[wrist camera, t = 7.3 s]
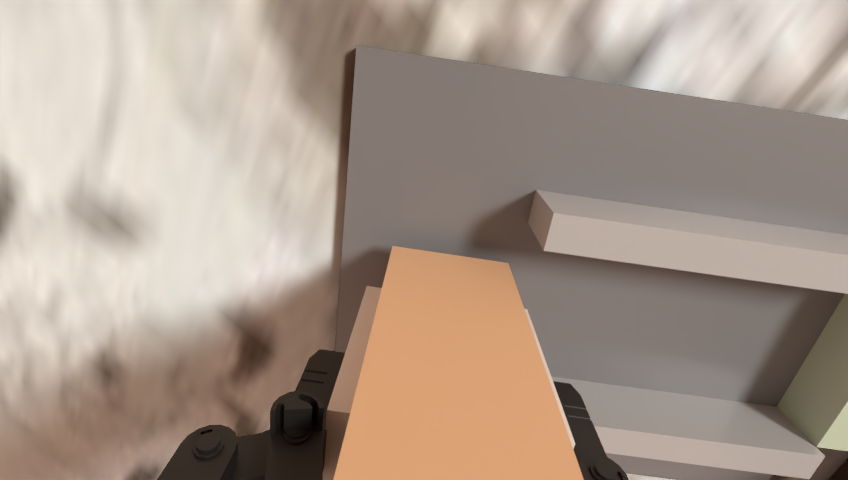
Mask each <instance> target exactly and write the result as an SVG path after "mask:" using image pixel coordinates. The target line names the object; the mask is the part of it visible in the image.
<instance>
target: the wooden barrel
mask: <svg viewBox="0 0 848 480" xmlns="http://www.w3.org/2000/svg"><path fill="white" fill-rule="evenodd" d="M828 480H848V459H847V460H846V461H845V462H844V463H843V464H842V465H841V466H840V468H839V469H838V470H837V471H836V472H835V473H834V474H833V475H832V476H831V477H830V478H829V479H828Z"/></svg>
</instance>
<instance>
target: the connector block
mask: <svg viewBox="0 0 848 480" xmlns="http://www.w3.org/2000/svg"><path fill="white" fill-rule="evenodd" d="M333 480H584V479H583V476H582V473H581V470H580V467H579V464H578V461H577V458H576V456H575V453H574V450H573V447H572V444H571V441H570V438H569V435H568V433H567V430H566V427H565V424H564V421H563V418H562V415H561V413H560V410H559V407H558V404H557V401H556V398H555V395H554V392H553V390H552V387H551V384H550V381H549V378H548V375H547V372H546V369H545V367H544V364H543V361H542V358H541V355H540V352H539V349H538V347H537V344H536V341H535V338H534V335H533V332H532V329H531V326H530V324H529V321H528V318H527V315H526V312H525V309H524V306H523V303H522V301H521V298H520V295H519V292H518V289H517V286H516V283H515V281H514V278H513V275H512V272H511V269H510V266H509V263H505V262H498V261H492V260H485V259H478V258H471V257H465V256H458V255H451V254H444V253H437V252H431V251H424V250H417V249H410V248H404V247H397V246H392V250H391V254H390V258H389V262H388V266H387V270H386V274H385V278H384V282H383V286H382V289H381V293H380V297H379V301H378V305H377V309H376V313H375V317H374V321H373V325H372V329H371V333H370V337H369V341H368V345H367V349H366V353H365V357H364V361H363V365H362V369H361V372H360V376H359V380H358V384H357V388H356V392H355V396H354V400H353V404H352V408H351V412H350V416H349V420H348V424H347V428H346V432H345V436H344V440H343V444H342V448H341V452H340V455H339V459H338V463H337V467H336V471H335V475H334V479H333Z"/></svg>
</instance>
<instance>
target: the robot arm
mask: <svg viewBox="0 0 848 480" xmlns="http://www.w3.org/2000/svg"><path fill="white" fill-rule="evenodd" d="M381 289H382V288H378V287H371V286H367V287H366V290H365V293H364V296H363V299H362V303H361V306H360V309H359V312H358V315H357V318H356V321H355V324H354V327H353V330H352V334H351V337H350V340H349V343H348V346H347V349H346V352H345V353H342V352H335V351H328V350H321V349H320V350H319V351H317V352H316V353H315V354H314V355H313V356H312V357H310V358H309V361H308V363H307V365H306V368H305V370H304V372H303V374H302V377H301V380H300V381H299V384H298V386H297V388H296V390H295V391H294V392H289V393H287V394H285V395H283V396H281V397H279V398H278V399H277V400H276V401H275V402H274V403H273V406H272V408H271V411H270V430H267V431H265V432H263V433H259V434H254V435H248V436H241V437H236V433H235V432H234V431H233V430H232V429H230V428H229V427H226V426H222V425H209V426H206V427H203V428H200V429H198V430H196V431H194V432H193V433H191V434H189V435H188V436H187V437H186V438H185V440H184V441H183V442H182V443H181V444H180V446H179V447H178V449H177V450H176V452H175V453H174V455H173V456H172V458H171V459H170V461H169V462H168V464H167V466H166V467H165V469H164V470H163V472H162V473H161V475H160V476H159V478H158V479H157V480H333V479H334V475H335V471H336V467H337V463H338V459H339V455H340V452H341V448H342V444H343V440H344V436H345V432H346V428H347V424H348V420H349V416H350V412H351V408H352V404H353V400H354V396H355V392H356V388H357V384H358V380H359V376H360V372H361V369H362V365H363V361H364V357H365V353H366V349H367V345H368V341H369V337H370V333H371V329H372V325H373V321H374V317H375V313H376V309H377V305H378V301H379V297H380V293H381ZM525 312H526V315H527V318H528V321H529V324H530V326H531V329H532V332H533V335H534V338H535V341H536V344H537V347H538V349H539V352H540V355H541V358H542V361H543V364H544V367H545V369H546V372H547V375H548V378H549V381H550V384H551V387H552V390H553V392H554V395H555V398H556V401H557V404H558V407H559V410H560V413H561V415H562V418H563V421H564V424H565V427H566V430H567V433H568V435H569V438H570V441H571V444H572V447H573V450H574V453H575V456H576V458H577V461H578V464H579V467H580V470H581V473H582V476H583V479H584V480H628V477H627V475H626V473H625V472H624V471H623V470H622V468H621V467H620V466H619V465H618V464H617V463H615V462H614V461H613V460H611V459H610V458H608V457H607V455H606V453H605V451H604V448H603V446H602V444H601V441H600V439H599V437H598V434H597V432H596V430H595V427H594V425H593V423H592V420H590V416H589V413H588V411H587V410H586V406H585V404H584V402H583V399H582V397H581V395H580V394H579V393H578V392H577V390H576V389H575V388H574V387H573V386H572V385H571V384H570V383H563V382H556V381H553V380H552V377H551V374H550V372H549V369H548V366H547V363H546V360H545V358H544V355H543V352H542V349H541V346H540V344H539V341H538V338H537V335H536V332H535V330H534V327H533V324H532V321H531V319H530V316H529V313H528V310H527V309H525Z"/></svg>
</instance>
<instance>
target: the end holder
mask: <svg viewBox="0 0 848 480" xmlns="http://www.w3.org/2000/svg"><path fill="white" fill-rule="evenodd" d="M392 246H397V247H404V248H410V249H417V250H424V251H431V252H437V253H444V254H451V255H458V256H465V257H471V258H478V259H485V260H492V261H498V262H505V263H509V266H510V269H511V272H512V275H513V278H514V281H515V283H516V286H517V289H518V292H519V295H520V298H521V301H522V303H523V306H524V309H527V310H528V313H529V316H530V319H531V321H532V324H533V327H534V330H535V332H536V335H537V338H538V341H539V344H540V346H541V349H542V352H543V355H544V358H545V360H546V363H547V366H548V369H549V372H550V374H551V377H552V380H553V381H556V382H563V383H570V384H571V385H572V386H573V387H574V388H575V389H576V390H577V392H578V393H579V394H580V395H581V397H582V399H583V402H584V404H585V406H586V410H587V411H588V413H589V416H590V420H592V423H593V425H594V427H595V430H596V432H597V434H598V437H599V439H600V441H601V444H602V446H603V448H604V451H605V453H606V455H607V457H608V458H610V459H611V460H613V461H614V462H615V463H617V464H618V465H619V466H620V467H621V468H622V470H623V471H624V472H625V473H629V474H636V475H644V476H652V477H660V478H667V479H675V480H770V478H771V477H772V475H780V476H787V477H795V478H803V479H810V478H811V476H812V475H813V473H814V472H815V471H816V469H817V468H818V466H819V465H820V464H821V462H822V461H823V459H824V458H825V455H824V454H823V453H822V452H821V451H820V450H819V449H818V448H817V447H819V448H827V449H834V450H842V451H848V120H844V119H838V118H831V117H825V116H818V115H811V114H805V113H798V112H792V111H785V110H779V109H772V108H765V107H759V106H752V105H746V104H739V103H733V102H726V101H719V100H713V99H706V98H700V97H693V96H686V95H680V94H673V93H667V92H660V91H654V90H647V89H640V88H634V87H627V86H621V85H614V84H607V83H601V82H594V81H588V80H581V79H575V78H568V77H561V76H555V75H548V74H542V73H535V72H529V71H522V70H515V69H509V68H502V67H496V66H489V65H482V64H476V63H469V62H463V61H456V60H450V59H443V58H436V57H430V56H423V55H417V54H410V53H403V52H397V51H390V50H384V49H377V48H371V47H364V46H357V45H356V57H355V71H354V85H353V99H352V114H351V128H350V142H349V156H348V170H347V185H346V199H345V213H344V227H343V242H342V256H341V270H340V284H339V298H338V313H337V327H336V341H335V352H342V353H345V352H346V349H347V346H348V343H349V340H350V337H351V334H352V330H353V327H354V324H355V321H356V318H357V315H358V312H359V309H360V306H361V303H362V299H363V296H364V293H365V290H366V287H367V286H371V287H378V288H382V286H383V282H384V278H385V274H386V270H387V266H388V262H389V258H390V254H391V250H392Z"/></svg>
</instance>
